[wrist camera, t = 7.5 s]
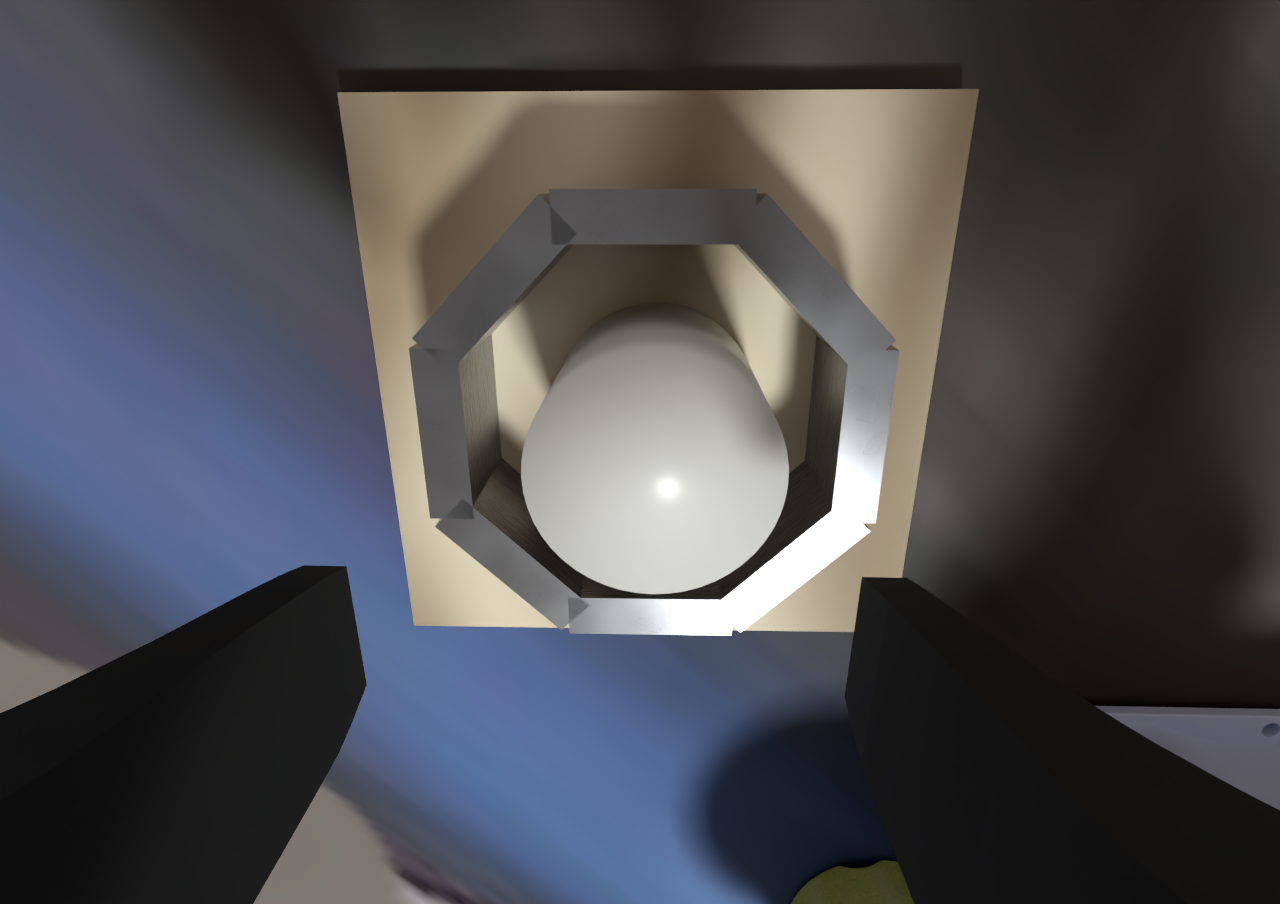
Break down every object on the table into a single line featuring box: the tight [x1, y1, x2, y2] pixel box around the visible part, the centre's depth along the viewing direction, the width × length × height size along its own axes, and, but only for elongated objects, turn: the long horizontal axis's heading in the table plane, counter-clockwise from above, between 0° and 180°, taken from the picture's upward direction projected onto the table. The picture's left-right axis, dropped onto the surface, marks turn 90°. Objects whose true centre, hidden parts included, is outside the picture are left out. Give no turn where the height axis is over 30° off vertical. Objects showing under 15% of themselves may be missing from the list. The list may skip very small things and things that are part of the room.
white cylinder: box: [521, 303, 789, 594], centre depth 15 cm, size 5×5×5 cm
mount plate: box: [337, 89, 979, 632], centre depth 18 cm, size 14×14×1 cm
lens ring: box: [409, 189, 899, 636], centre depth 16 cm, size 10×10×3 cm
